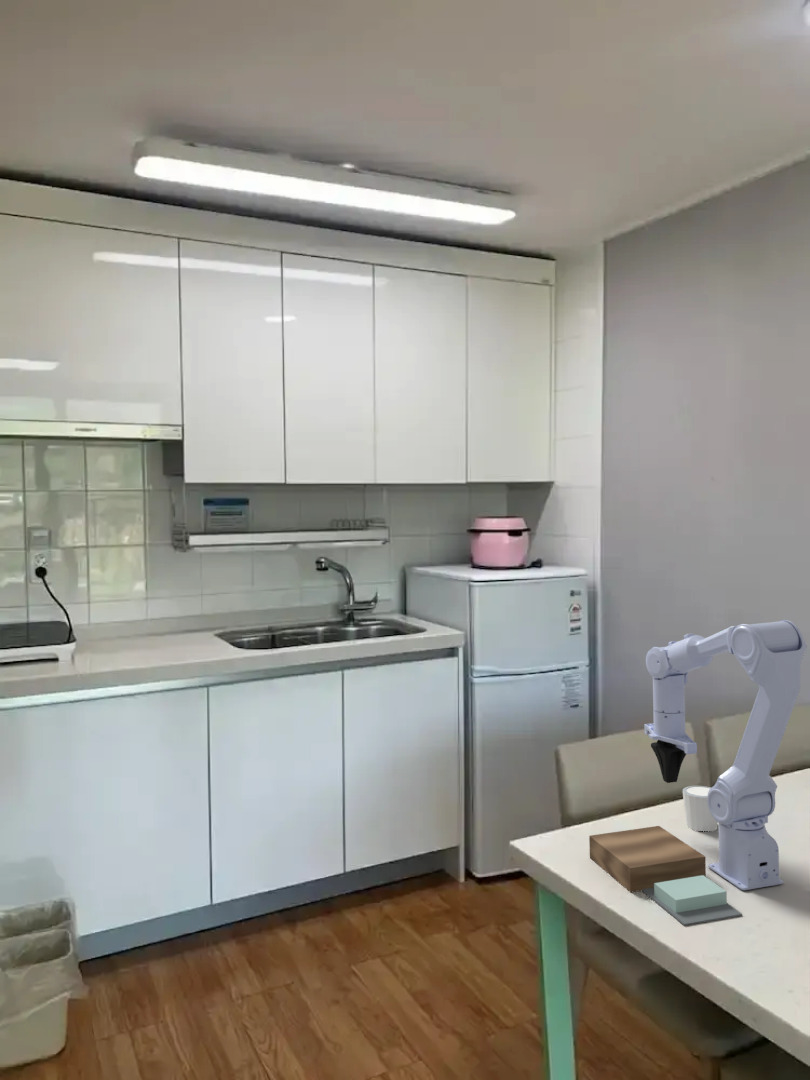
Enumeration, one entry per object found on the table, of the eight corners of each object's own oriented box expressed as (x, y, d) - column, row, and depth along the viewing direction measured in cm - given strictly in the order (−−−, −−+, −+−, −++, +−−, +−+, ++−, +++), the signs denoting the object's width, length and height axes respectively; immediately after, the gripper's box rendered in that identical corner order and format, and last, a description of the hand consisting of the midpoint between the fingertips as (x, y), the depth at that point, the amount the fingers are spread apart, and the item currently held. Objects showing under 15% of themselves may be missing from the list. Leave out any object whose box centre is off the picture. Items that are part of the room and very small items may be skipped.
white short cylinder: (714, 836, 156) (713, 799, 156) (678, 828, 160) (677, 792, 160) (725, 824, 162) (724, 789, 161) (689, 817, 166) (689, 782, 165)
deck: (705, 880, 138) (705, 856, 138) (630, 892, 135) (630, 868, 134) (659, 847, 152) (658, 825, 152) (589, 857, 148) (589, 835, 148)
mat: (742, 915, 126) (742, 913, 126) (684, 926, 124) (684, 924, 124) (695, 882, 138) (695, 880, 138) (642, 891, 135) (642, 889, 135)
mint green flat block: (703, 875, 135) (703, 887, 135) (654, 883, 133) (654, 895, 133) (726, 891, 129) (726, 903, 129) (675, 900, 127) (676, 912, 127)
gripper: (630, 703, 162) (631, 771, 162) (672, 721, 148) (673, 796, 148) (662, 700, 164) (663, 768, 164) (706, 717, 150) (707, 791, 150)
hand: (670, 781), depth 156 cm, fingers closed
